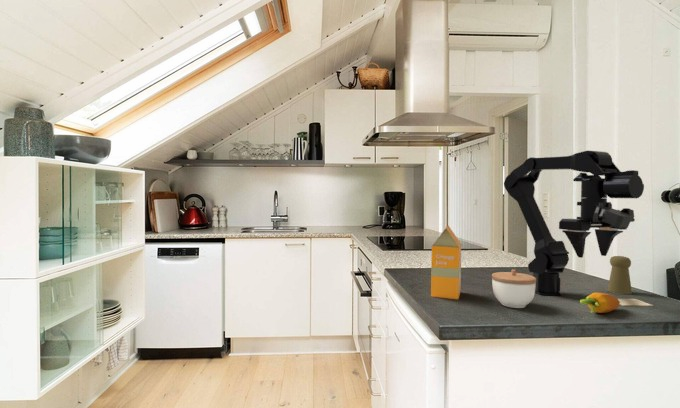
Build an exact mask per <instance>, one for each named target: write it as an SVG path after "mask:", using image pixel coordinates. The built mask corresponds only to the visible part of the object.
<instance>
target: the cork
mask: <svg viewBox="0 0 680 408" xmlns="http://www.w3.org/2000/svg"><path fill="white" fill-rule="evenodd" d="M609 264H610V265H611V269H610V275H609V279H608V280H609V281H608V285H607V291H608V292H610V293H613V294H619V295H633V291H632V282H631V276H630V269H629V268H630V267H631V265H632V261H631V259H630V258H629V257H626V256H623V255H622V256H621V255H614V256H613V255H612V256H611V257H610V258H609Z"/></svg>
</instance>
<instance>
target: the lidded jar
mask: <svg viewBox="0 0 680 408" xmlns="http://www.w3.org/2000/svg"><path fill="white" fill-rule="evenodd" d="M491 278H492V279H491V282H492V284H491V285H492V292H493V295H494V297H495V298H496V299H497V301H498V302H499V303H500V305H502V306H503V307H507V308H512V309H525V308H526V307H527V305H528V304H530V303H531V302H532V300H533V299H534V297H535V293H536V292H535V287H536V278H535V277H534V276H533V275H531V274H526V273H523V272H522V273H521V272H517V270H516V269H511V271H506V272H505V271H498V272H496V271H495V272H493V273H492V274H491Z"/></svg>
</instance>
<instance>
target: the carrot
mask: <svg viewBox="0 0 680 408" xmlns="http://www.w3.org/2000/svg"><path fill="white" fill-rule="evenodd" d="M618 299H619V298H617V297H616V296H614V295H612V294H607V293H603V292H597V291H596V292H593V293H591V294H589V295H588V296H586V297H585V298H583V299H580V300H579V303H580V304H581V305H582V304H583V305H587V306H588V308H589V309H590V312H589V313H591V314H593V313H594V312H596V313H600V314H603V313H611V312H612V311H614V310H616V309H618V308H619V307H620V302H619V300H618Z"/></svg>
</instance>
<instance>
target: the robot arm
mask: <svg viewBox="0 0 680 408" xmlns="http://www.w3.org/2000/svg"><path fill="white" fill-rule="evenodd" d="M545 170H547V171H548V170H549V171H551V170H552V171H553V170H554V171H555V170H556V171H557V170H558V171H560V170H572V171H575V172H576V171H577V172H580V173H579V174H578V175H577V176H575V177H574V178H573V182H579V183H581V184H580V185H581V187H580V189H581V190H580V201H577V202H576V206H580V216H576V218H561V220H559V222H558V229H559V230H562V233H564V234H565V235H566V237H567V239H568V241H569V242H570V244H571V247H573V250H574V252H575V254H576V256H577V257H578V258H584V255H585V248H586V247H585V245H586V238H587V237H588V236H589V235H590V234H591V233H592V232H591V231H590V229H591V228H593V229H594V232H595V237H596V241H597V245H598V249H599V251H600V253H599V254H600V255H601V257H606V256H607V255H608V252H609V250H610V247H611V245H612V243H613V241H614V239H615V237H617V236H618V235H620V234H621V233H623V232H624V230H627V229H628V228H629V226H630V225H631V224H630V223H634V222H635V220H636V219H635V213H634V209H631V208H626V207H625V208H622V209H615V208H613V204H612V202H610V201H609V202H608V199H607V198H608V197H609V198H610V199H639V198H640V197H642V195H643V193H644V189H645V185H644V182H643V180H642V178H641V176H640V175H639V170H631V169H630V170H625V171H621V170H620V169H619V168H618V167H617V165H616V164H615V163H614V162H613V158H612V156H611V154H610V153H609V152H607V151H598V150H584V151H580V152H575V153H574V154H571V155H567V156H565V155H563V156H550V157H549V156H547V157H546V156H545V157H528V158H527V159H526V160H525V161H524V162H523V163H522V164H521V165H519V166H517V167H516V168H514V169H513V170H512V171H511V172H510V173H509V174H508V175H507V176H505V179H504V182H503V186H504V188H505V190H506V192H507V193H508V195H509V196H510V197H511V198H512V199H513V200H515V201H516V202H517V204H518V206H519V208H520V211H521V213H522V216H523V217H524V220H525V221H526V225H527V227H528V230H529V231H530V234H531V236H532V238H533V241H534V248H533V254H534V259H532V260H531V261H530V262H529V263H528V264H527V267H528V270H529V272H530V273H532V276H534V277H535V278H536V287H535V293H536V294H538V295H540V296H541V295H542V296H546V295H547V296H548V295H549V296H562V295H563V293H562V292H561V278H560V274H562V273H563V272H564V271H565V268H566V267H567V265H568V262H569V260H570V259H569V254H570V252H569V251H568V250H567V249H566V245H565V242H564V241H563V240H556V239H555V238H554V237H553V236H552V233H551V230H550V229H549V228H548V225H547V223H546V221H545V219H544V217H543V214H542V212H541V210H540V208H539V206H538V203H537V201H536V199H535V197H534V194H535V191H536V189H535V185H534V184H535V183H536V182H537V181H538V180H539V177H540V174H541V172H542V171H545ZM588 173H590V174H588ZM601 176H603V178H602V177H601Z"/></svg>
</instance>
